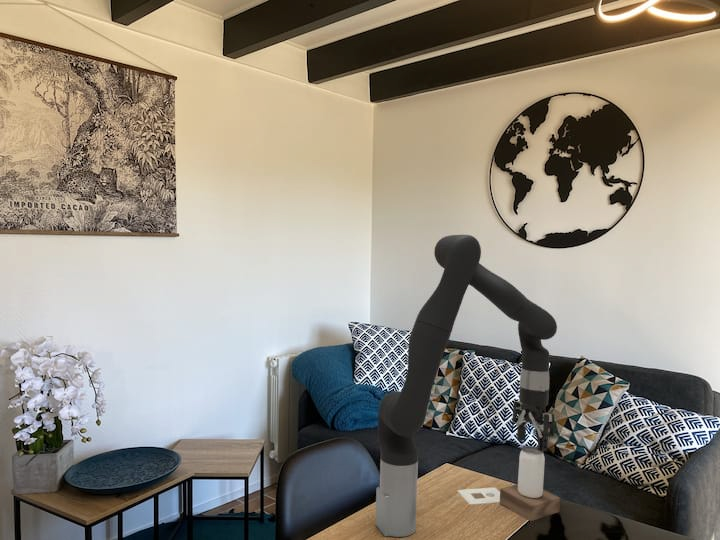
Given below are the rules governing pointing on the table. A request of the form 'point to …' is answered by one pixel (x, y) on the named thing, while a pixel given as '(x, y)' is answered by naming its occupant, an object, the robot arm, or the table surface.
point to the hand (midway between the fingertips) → (531, 445)
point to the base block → (529, 503)
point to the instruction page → (480, 495)
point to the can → (531, 472)
